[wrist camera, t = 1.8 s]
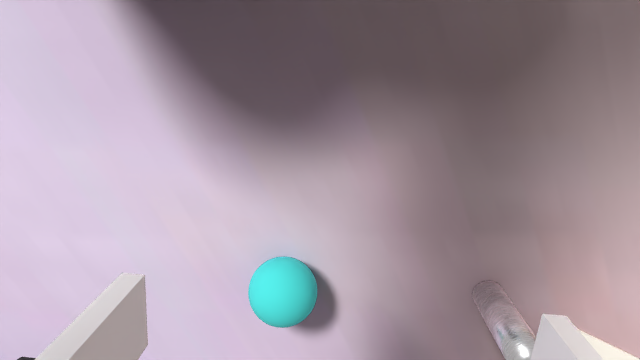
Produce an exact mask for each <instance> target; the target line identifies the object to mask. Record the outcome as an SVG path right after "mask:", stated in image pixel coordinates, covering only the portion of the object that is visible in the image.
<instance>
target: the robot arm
mask: <svg viewBox="0 0 640 360" xmlns="http://www.w3.org/2000/svg"><path fill="white" fill-rule="evenodd" d="M147 345H148V339H147V315H146V291H145V275H141V274H131V273H121V274H120V275H119V276H118V277H117V278H116V279H115V280H114V281H113V282H112V283H111V284H110V285H109V286H108V287H107V288H106V289H105V290H104V291H103V292H102V293H101V294H100V295H99V296H98V297H97V298H96V299H95V300H94V301H93V302H92V303H91V304H90V305H89V306H88V307H87V308H86V309H85V310H84V311H83V312H82V313H81V314H80V315H79V316H78V317H77V318H76V319H75V320H74V321H73V322H72V323H71V324H70V325H69V326H68V327H67V328H66V329H65V330H64V331H63V332H62V333H61V334H60V335H59V336H58V337H57V338H56V339H55V340H54V341H53V342H52V343H51V344H50V345H49V346H48V347H47V348H46V349H45V350H44V351H43V352H42V353H41V354H40V355H39V356H38V357H37V358H28V357H21V358H19V359H17V360H138V359H139V357H140V356H141V354H142V353H143V351H144V350H145V348H146V347H147ZM530 360H604V359H603V358H602V357H601V356H600V355H599V354H598V352H597V351H596V350H595V349H594V348H593V347H592V345H591V344H590V343H589V342H588V341H587V340H586V338H585V337H584V336H583V335H582V334H581V333H580V331H579V330H578V329H577V328H576V327H575V326H574V324H573V323H572V322H571V321H570V320H569V318H568V317H567V316H563V315H553V314H542V317H541V321H540V325H539V328H538V332H537V336H536V340H535V344H534V347H533V351H532V355H531V359H530Z"/></svg>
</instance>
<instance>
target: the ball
mask: <svg viewBox="0 0 640 360" xmlns="http://www.w3.org/2000/svg"><path fill="white" fill-rule="evenodd" d="M316 299H317V283H316V280H315V277H314V275H313V273H312V272H311V270H310V269H309V268H308V267H307V266H306V265H305V264H304V263H303V262H301V261H299V260H297V259H295V258H291V257H276V258H273V259H270V260H268V261H266V262H265V263H263V264H262V265H261V266H260V267H259V268H258V269H257V270H256V271H255V273H254V275H253V276H252V278H251V281H250V285H249V301H250V305H251V307H252V309H253V311H254V313H255V314H256V315H257V317H258V318H259V319H261V320H262V321H263V322H265V323H266V324H268V325H271V326H274V327H282V328H283V327H290V326H294V325H296V324H298V323H300V322H301V321H303V320H304V319H305V318H306V317H307V316H308V315H309V314H310V313H311V311H312V310H313V308H314V306H315V303H316Z"/></svg>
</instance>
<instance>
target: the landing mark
mask: <svg viewBox="0 0 640 360" xmlns="http://www.w3.org/2000/svg"><path fill="white" fill-rule="evenodd" d="M578 330H579V329H578ZM579 331H580V333H581V334H582V335H583V336H584V337H585V338H586V340H587V341H588V342H589V343H590V344H591V345H592V347H593V348H594V349H595V350H596V351H597V352H598V354H599V355H600V356H601V357H602V358H603V359H604V360H640V359H639V358H637V357H635V356H633V355H631V354H629V353H627V352H625V351H623V350H621V349H619V348H617V347H614V346H612V345H610V344H608V343H606V342H604V341H602V340H600V339H598V338H596V337H594V336H592V335H589V334H587V333H585V332H583V331H581V330H579Z"/></svg>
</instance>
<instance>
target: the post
mask: <svg viewBox="0 0 640 360" xmlns="http://www.w3.org/2000/svg"><path fill="white" fill-rule="evenodd" d="M472 298H473V301H474V302H475V304H476V306H477V308H478V310H479V312H480V314H481V315H482V317H483V319H484V321H485V323H486V325H487V326H488V328H489V330H490V332H491V334H492V336H493V338H494V339H495V341H496V343H497V345H498V347H499V349H500V351H501V352H502V354H503V356H504V358H505V360H530V359H531V355H532V351H533V347H534V344H535V340H536V336H535V334H534V333H533V332H532V330H531V329H530V327H529V326H528V324H527V323H526V321H525V320H524V319H523V317H522V316H521V314H520V313H519V311H518V310H517V309H516V307H515V306H514V304H513V303H512V301H511V300H510V298H509V297H508V296H507V294H506V293H505V291H504V290H503V288H502V287H501V286H500V285H499V284H498V283H497V282H494V281H483V282H481V283H479V284H478V285H476V287H475V288H474V289H473V292H472Z"/></svg>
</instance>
